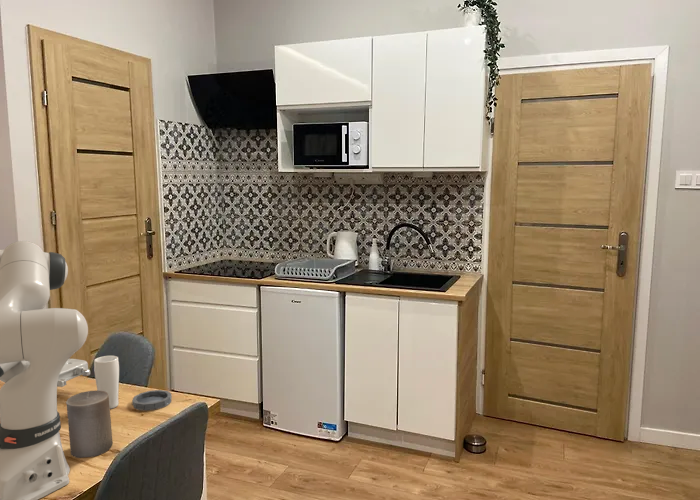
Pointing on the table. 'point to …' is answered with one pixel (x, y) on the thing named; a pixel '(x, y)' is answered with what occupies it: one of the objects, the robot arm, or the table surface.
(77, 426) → the pillar candle
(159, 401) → the coaster
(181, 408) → the table surface
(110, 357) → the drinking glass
